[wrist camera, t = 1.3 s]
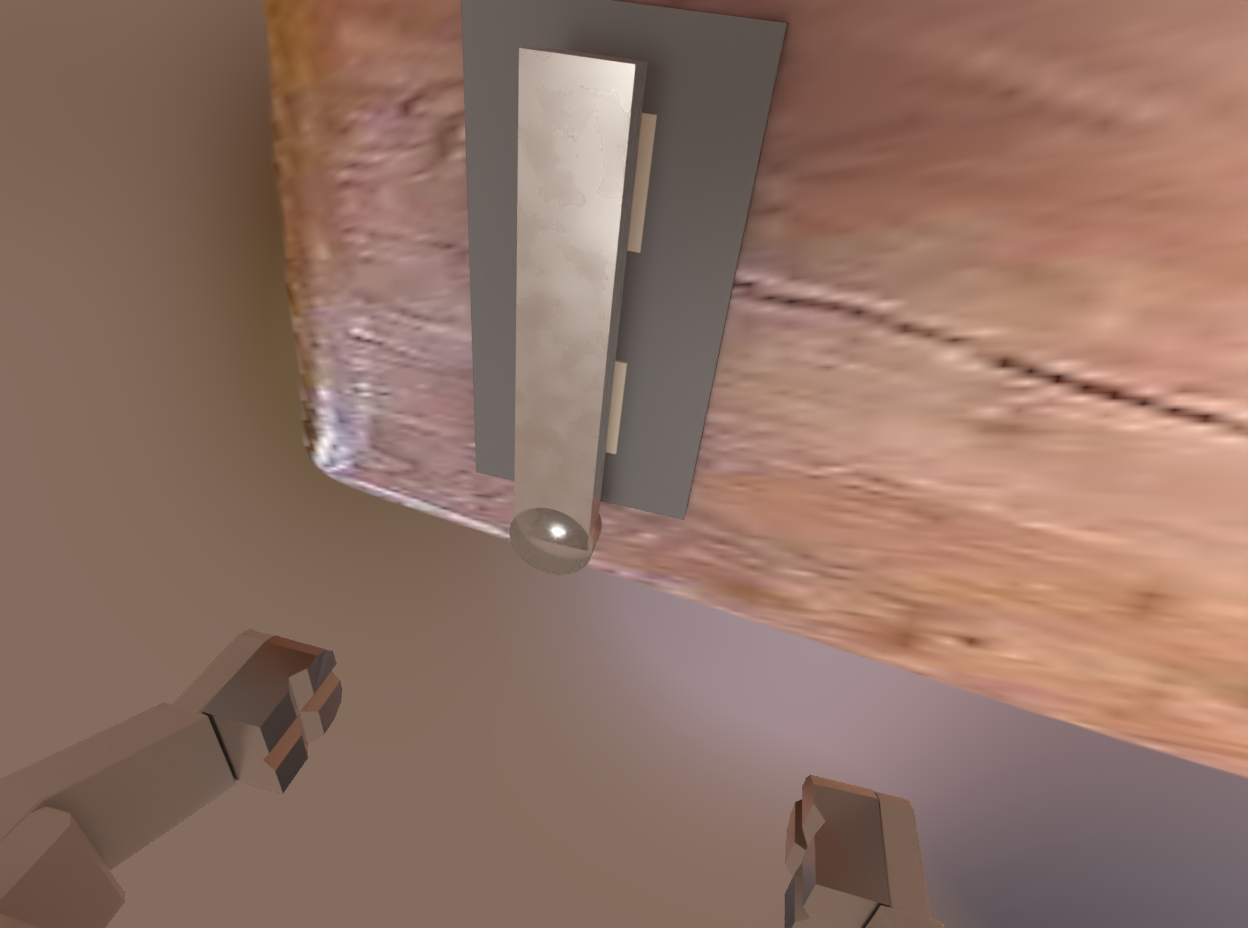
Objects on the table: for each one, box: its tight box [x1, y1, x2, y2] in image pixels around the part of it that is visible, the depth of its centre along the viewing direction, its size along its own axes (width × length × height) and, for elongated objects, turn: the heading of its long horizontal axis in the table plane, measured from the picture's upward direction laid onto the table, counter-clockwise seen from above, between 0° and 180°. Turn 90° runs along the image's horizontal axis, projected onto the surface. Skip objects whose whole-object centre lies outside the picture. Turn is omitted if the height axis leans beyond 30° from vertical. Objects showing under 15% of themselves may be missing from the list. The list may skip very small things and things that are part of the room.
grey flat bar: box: [510, 46, 648, 575], centre depth 36 cm, size 30×6×2 cm, turn 174°
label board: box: [461, 0, 788, 520], centre depth 39 cm, size 30×16×5 cm, turn 174°
